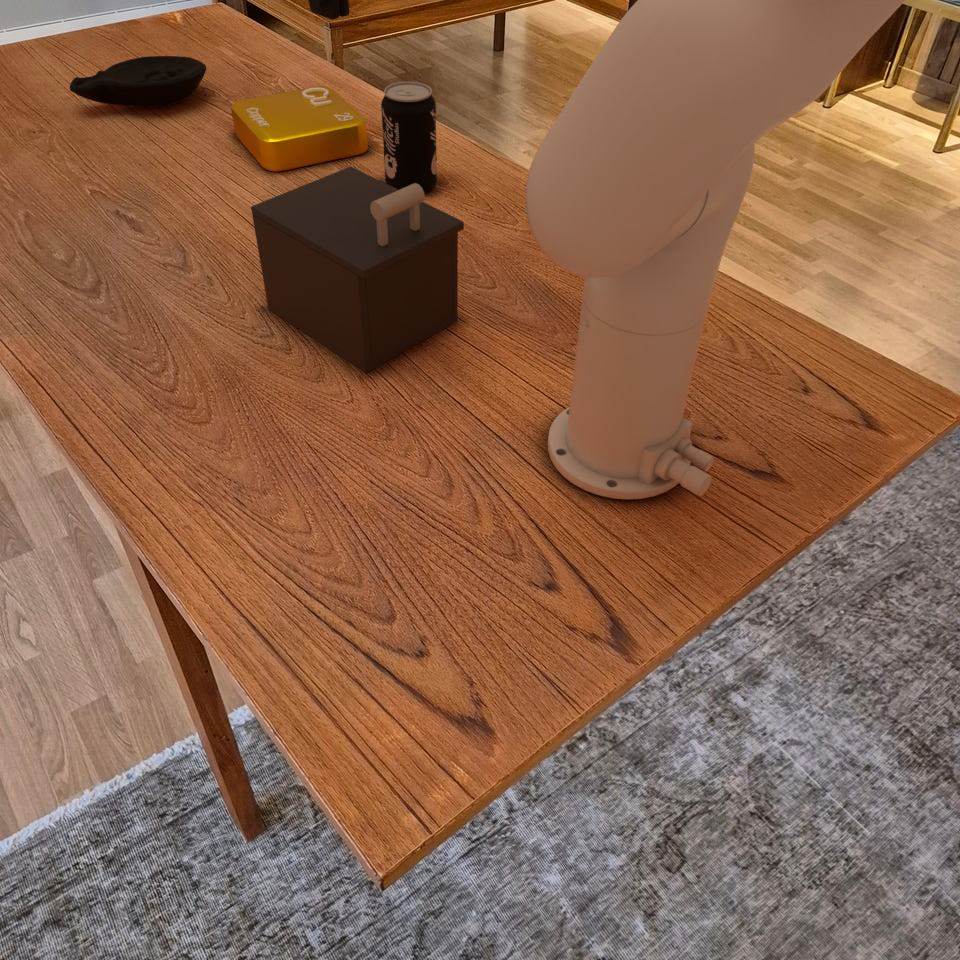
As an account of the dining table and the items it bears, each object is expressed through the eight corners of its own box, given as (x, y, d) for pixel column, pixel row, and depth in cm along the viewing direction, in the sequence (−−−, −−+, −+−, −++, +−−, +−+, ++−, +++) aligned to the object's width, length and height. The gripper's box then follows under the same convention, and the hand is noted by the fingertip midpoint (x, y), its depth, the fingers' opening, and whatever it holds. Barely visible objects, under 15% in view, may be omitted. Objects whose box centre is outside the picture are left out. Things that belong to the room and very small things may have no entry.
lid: (464, 229, 85) (464, 178, 81) (363, 278, 78) (359, 225, 74) (351, 173, 93) (347, 124, 89) (251, 214, 86) (243, 163, 82)
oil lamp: (65, 97, 133) (55, 62, 129) (193, 74, 140) (187, 41, 137) (89, 133, 124) (78, 97, 120) (225, 108, 131) (218, 73, 128)
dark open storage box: (457, 321, 93) (458, 226, 85) (366, 373, 86) (357, 275, 78) (359, 265, 100) (351, 173, 93) (268, 309, 94) (251, 214, 86)
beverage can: (430, 200, 112) (428, 103, 103) (379, 194, 113) (373, 97, 104) (442, 177, 116) (441, 82, 108) (393, 171, 117) (388, 77, 109)
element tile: (231, 132, 125) (225, 97, 122) (330, 113, 130) (327, 79, 127) (268, 175, 116) (262, 139, 112) (373, 152, 121) (371, 117, 118)
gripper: (245, -268, 55) (285, 47, 68) (420, -278, 63) (426, 5, 76) (177, -277, 58) (227, 23, 71) (351, -286, 66) (368, -14, 79)
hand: (329, 13), depth 73 cm, fingers closed
